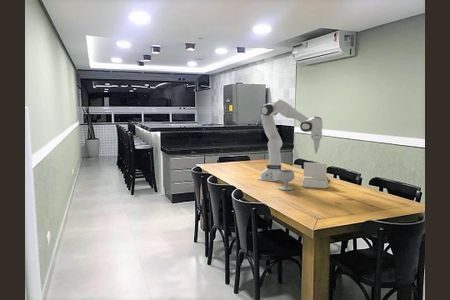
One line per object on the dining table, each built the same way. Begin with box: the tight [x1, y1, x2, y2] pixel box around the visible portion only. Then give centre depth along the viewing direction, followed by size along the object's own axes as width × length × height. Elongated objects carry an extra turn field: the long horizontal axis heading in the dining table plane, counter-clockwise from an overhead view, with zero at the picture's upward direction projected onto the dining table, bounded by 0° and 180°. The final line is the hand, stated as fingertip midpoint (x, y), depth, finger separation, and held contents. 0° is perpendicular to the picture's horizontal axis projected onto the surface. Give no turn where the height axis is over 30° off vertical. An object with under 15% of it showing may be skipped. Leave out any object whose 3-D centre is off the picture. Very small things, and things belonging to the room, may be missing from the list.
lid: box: [303, 162, 328, 178], centre depth 283 cm, size 19×13×1 cm
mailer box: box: [302, 176, 329, 190], centre depth 280 cm, size 20×14×6 cm
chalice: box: [277, 169, 295, 191], centre depth 269 cm, size 14×14×15 cm
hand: (315, 152), depth 273 cm, fingers open, 5 cm apart
